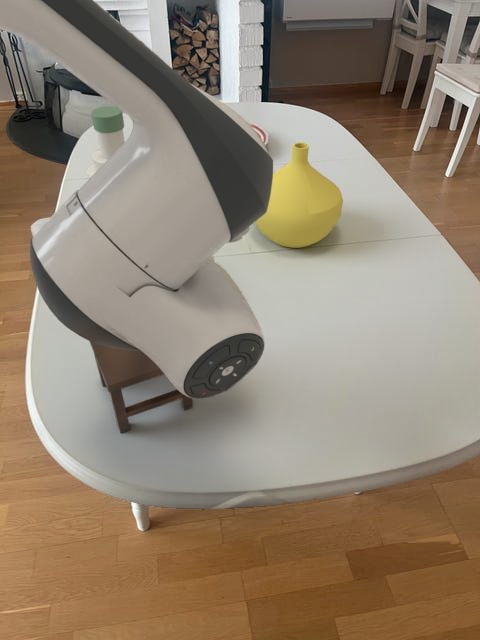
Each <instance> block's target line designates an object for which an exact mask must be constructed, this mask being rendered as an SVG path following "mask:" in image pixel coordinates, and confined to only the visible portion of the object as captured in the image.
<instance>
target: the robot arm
mask: <svg viewBox="0 0 480 640" xmlns="http://www.w3.org/2000/svg"><path fill="white" fill-rule="evenodd" d="M0 30H1V31H4V32H6V33H10V34H12V35H14V36H16V37H19V38H20V39H23V40H24V41H25V42H28V43H29V44H30V45H32V46H34V47H35V48H37V50H39V51H40V52H42V53H43V54H44V55H46V56H47V57H48V58H50V59H51V60H52V61H54V63H55V62H56V63H57V64H58V65H59V66H61V67H62V68H64V69H65V70H66V71H67V72H69V73H70V74H71V75H73V76H74V77H75V78H77V79H78V80H79V81H81V82H82V83H83V84H85V85H86V86H87V87H89V88H90V89H92V90H93V91H95V92H96V93H97V94H98V95H100V96H101V97H102V98H104V99H105V100H106V101H108V102H109V103H110V104H112V105H114V107H117V108H119V109H120V110H121V111H122V113H124V114H125V115H127V116H128V117H129V118H130V119H131V122H132V130H131V133H130V134H129V136H128V137H127V139H126V140H125V143H124V144H123V145H122V146H121V147H120V148H119V149H118V150H117V151H116V152H115V153H114V154H113V155H112V156H111V157H110V158H109V159H108V160H107V161H106V162H105V163H104V164H103V166H102V167H101V168H100V169H99V170H98V171H97V172H96V173H95V174H94V175H93V176H92V177H91V178H90V179H89V178H88V180H87V181H86V182H85V183H84V184H83V185H82V186H81V187H80V188H79V189H77V190H76V191H75V192H73V193H72V195H70V196H69V198H67V200H66V201H65V202H64V203H63V204H62V205H61V206H60V207H59V208H58V209H57V210H56V211H55V212H54V213H53V214H52V215H51V216H48V217H43V218H39V219H36V220H35V222H33V223H32V224H31V226H30V230H31V238H30V242H29V243H30V244H29V260H30V266H31V271H32V275H33V278H34V281H35V285H36V286H37V289H38V292H39V294H40V296H41V298H42V300H43V302H44V303H45V305H46V306H47V307H48V309H49V310H50V312H51V313H52V314H53V316H54V317H55V318H56V319H57V320H58V322H60V323H61V324H62V325H63V326H64V327H66V328H67V329H69V330H70V331H71V332H73V333H74V334H76V335H78V336H79V337H81V338H83V339H85V340H87V341H89V342H90V341H91V342H93V343H96V344H99V345H103V346H108V347H113V348H119V349H124V350H132V351H142V352H143V353H144V354H146V355H147V356H148V357H149V358H150V359H151V360H152V361H153V362H154V363H155V364H156V365H157V366H158V367H159V368H160V369H161V370H162V372H163V373H164V374H163V375H165V377H166V378H167V379H168V380H169V382H170V383H171V385H173V387H174V388H175V390H178V391H179V392H181V393H182V394H184V395H185V396H187V397H189V398H192V400H193V399H194V400H202V399H203V400H204V399H209V398H212V397H215V396H218V395H220V394H222V393H225V392H227V391H229V390H230V389H232V388H233V387H234V386H236V385H237V384H238V383H239V382H241V381H242V380H243V379H244V378H245V377H246V376H247V375H248V374H249V373H250V372H251V371H252V370H254V368H255V367H256V366H257V364H259V361H260V360H261V358H262V357H263V354H264V351H265V346H266V341H265V335H264V332H263V330H262V328H261V325H260V323H259V321H258V319H257V317H256V314H255V313H254V311H253V309H252V306H251V305H250V304H249V302H248V300H247V298H246V297H245V295H244V294H243V293H242V290H241V289H240V288H239V287H238V285H237V283H236V282H235V280H234V279H233V278H232V277H231V275H230V273H228V271H227V270H226V269H225V268H224V267H223V266H221V265H220V264H218V263H217V262H216V261H215V258H214V255H216V254H217V253H218V251H220V250H221V249H222V248H223V247H224V246H225V245H226V244H231V243H236V242H239V241H240V240H243V236H245V235H246V234H248V233H249V231H250V227H251V226H252V225H253V224H254V223H255V221H257V220H258V219H259V218H260V217H262V216H263V215H264V214H265V213H266V212H267V209H268V204H269V200H270V195H271V188H272V180H273V173H274V159H273V158H272V156H271V155H270V153H269V151H268V149H267V145H266V146H265V144H264V143H263V141H262V140H261V138H260V137H259V135H258V134H257V133H256V131H255V130H254V129H253V128H252V127H251V126H250V125H249V124H248V123H247V122H246V121H247V120H245V118H243V117H242V116H241V115H240V114H239V113H238V112H236V111H235V110H234V109H232V108H231V107H230V106H228V105H227V104H225V103H224V102H223V101H220V100H219V99H218V98H216V97H214V96H213V95H211V94H209V93H207V92H206V91H204V90H202V89H200V88H199V87H197V86H195V85H194V84H192V83H190V82H189V81H188V80H187V79H185V77H183V76H182V75H181V74H179V73H178V72H177V71H176V70H174V69H173V68H172V67H171V66H170V65H169V64H168V63H166V62H165V61H164V60H163V59H162V58H161V56H160V55H159V54H157V53H156V52H155V51H153V50H152V48H150V47H149V46H148V45H147V44H146V43H145V42H143V41H142V40H141V39H140V38H139V37H137V36H136V35H135V34H134V33H133V32H132V31H130V29H128V28H127V27H126V26H125V25H123V23H120V21H119V20H118V19H116V18H115V17H114V16H113V15H112V14H111V13H110V12H109V11H108V10H106V9H105V8H103V7H102V6H101V5H100V4H99V3H98V2H95V0H0Z"/></svg>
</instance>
